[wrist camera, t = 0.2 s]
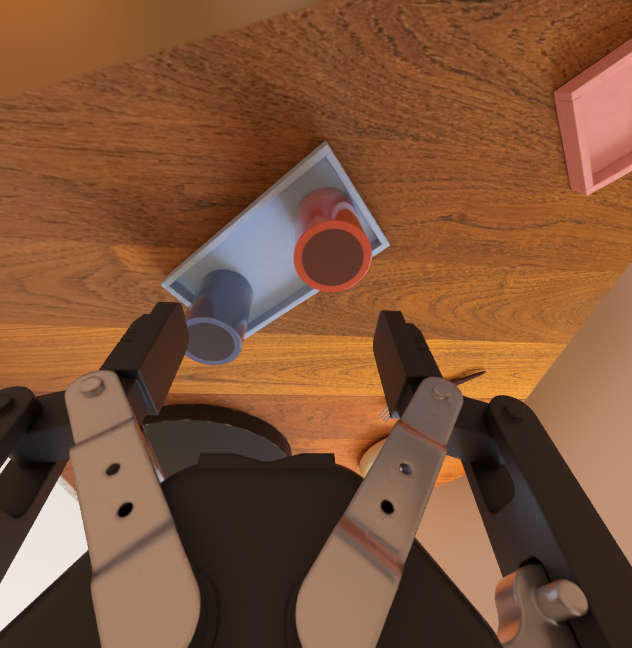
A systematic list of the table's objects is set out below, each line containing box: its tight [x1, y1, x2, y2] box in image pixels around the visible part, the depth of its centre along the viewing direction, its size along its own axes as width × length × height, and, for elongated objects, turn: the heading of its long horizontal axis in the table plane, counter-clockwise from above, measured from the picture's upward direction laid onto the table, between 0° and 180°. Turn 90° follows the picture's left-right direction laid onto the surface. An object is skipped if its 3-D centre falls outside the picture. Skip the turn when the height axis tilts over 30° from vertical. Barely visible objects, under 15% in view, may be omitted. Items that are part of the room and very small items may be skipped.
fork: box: [380, 371, 486, 422], centre depth 44 cm, size 3×16×2 cm, turn 122°
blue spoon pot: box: [184, 270, 254, 365], centre depth 29 cm, size 6×6×8 cm
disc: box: [142, 404, 292, 479], centre depth 53 cm, size 30×30×3 cm
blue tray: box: [161, 140, 390, 339], centre depth 30 cm, size 10×20×2 cm, turn 126°
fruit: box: [360, 437, 388, 478], centre depth 54 cm, size 7×15×3 cm, turn 156°
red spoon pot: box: [293, 187, 372, 292], centre depth 25 cm, size 6×6×8 cm
